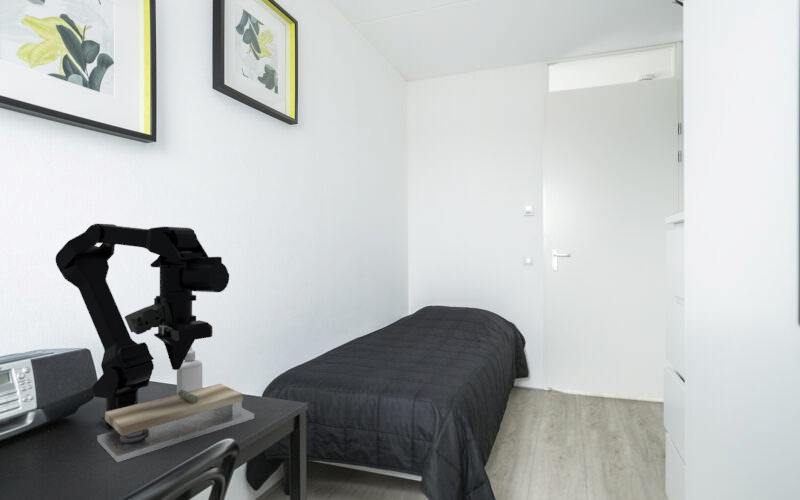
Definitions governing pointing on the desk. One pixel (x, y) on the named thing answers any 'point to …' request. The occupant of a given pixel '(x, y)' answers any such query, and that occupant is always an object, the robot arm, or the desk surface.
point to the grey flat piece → (172, 432)
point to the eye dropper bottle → (189, 373)
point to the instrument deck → (171, 408)
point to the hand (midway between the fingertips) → (176, 369)
